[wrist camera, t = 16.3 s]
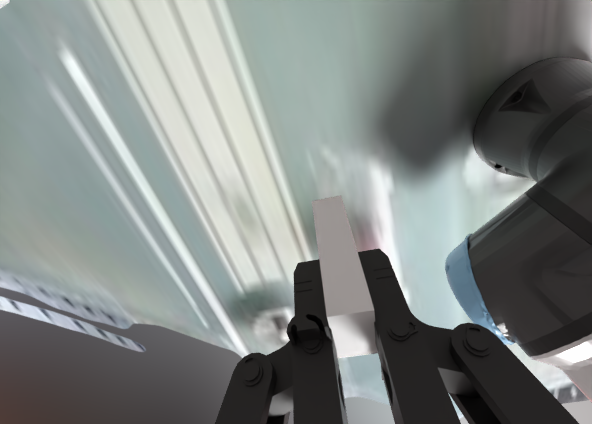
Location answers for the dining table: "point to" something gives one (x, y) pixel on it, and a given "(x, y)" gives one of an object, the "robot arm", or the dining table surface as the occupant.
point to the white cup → (3, 3)
